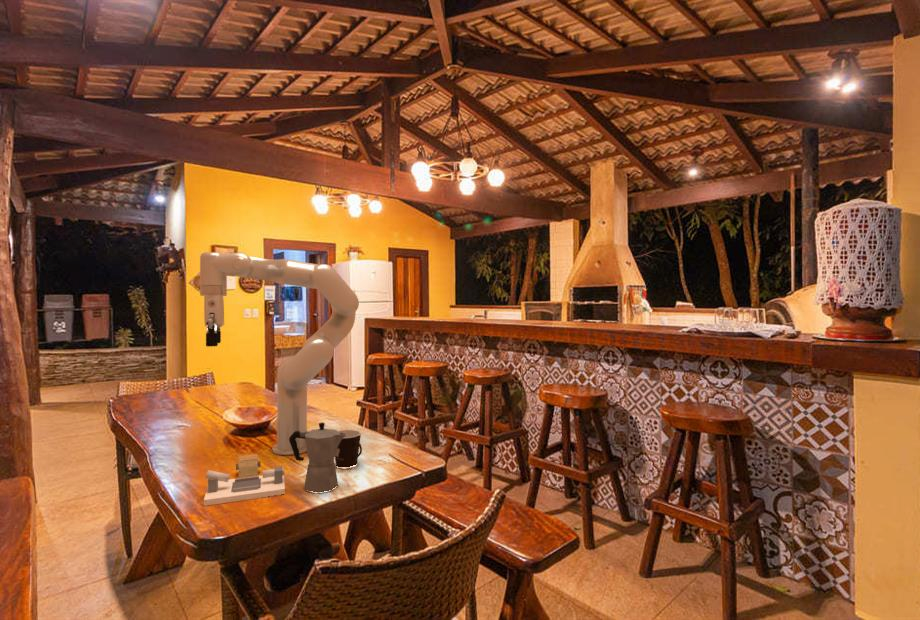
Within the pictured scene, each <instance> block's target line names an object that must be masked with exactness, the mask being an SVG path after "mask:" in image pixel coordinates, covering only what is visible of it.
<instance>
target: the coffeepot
mask: <svg viewBox="0 0 920 620" xmlns="http://www.w3.org/2000/svg"><path fill="white" fill-rule="evenodd" d="M325 424H326V423H325V422H319V423H318V426H319V428H318V429H312V430H309V431H308V430H307V431H295V432H294V433H293V434H292V435H291V436H290V437H289V442H290V444H291V447H292V450H293V453H294V458H295V460H296V461H298V462H303V461H304V460H305V457H304V456H303V457H302V456H301V455H300V454H299V450H298V448H297V442H296V440H295V439H296V438H302V439H305V440H306V447H307V451H306V454H307V458H308V464H307V469H306V475H305V480H304V486H305V487H304V486H303V487H304V490H305V489H306V490H308V491H313V492H324V491H329V490H332V489H333V488H335V487H336V486H337V487H338V486H339V481H338V475H337V469H336V468H337V467H336V462H335V456H336V450H337V447H338V445H339V444H340V442H341V440H342V439H343V438H344V437H345V436H346V434H345V433H342V432H338V431H339V430H337V429H331V428H325ZM337 487H336V488H337ZM306 490H305V491H306ZM332 491H333V490H332Z"/></svg>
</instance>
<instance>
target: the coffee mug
mask: <svg viewBox="0 0 920 620" xmlns="http://www.w3.org/2000/svg"><path fill="white" fill-rule="evenodd" d="M337 431H338V432H342V433H345V434H346V436H345V437H344V438H343V439H342V440H341V442H340V444H339V445H338V447H337V450H336V456H335V457H334V463H335V467H336V466H338V467H350V466H353V465H356V464H357V465H358V461H359V457H360V456H361V455H362V452H363V447H362V444H361V437H362V436H361V435H362V432H361V431H359V430H355V429H343V430H337Z"/></svg>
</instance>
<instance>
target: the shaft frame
mask: <svg viewBox="0 0 920 620" xmlns="http://www.w3.org/2000/svg"><path fill="white" fill-rule="evenodd" d="M230 477H231V473H225V472H219V471H214V470H210V469H208V470H207V472H206V475H205V479H207V489H206V492H205V495H204V498H203V506H204V507H207V506H212V505H220V504H227V503H235V502H241V501H248V500H253V499H254V500H255V499H262V497H263V498H269V497H268V496H270V497H275V496H274V495H277V496H282V495H281V494H285V495H286V485H285V484H286V483H285V467H283V465H280V466H279V465H278V466H274V468H270V469H263V470H262V475H256V476H247V477H237V478H230Z"/></svg>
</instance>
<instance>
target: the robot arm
mask: <svg viewBox="0 0 920 620" xmlns="http://www.w3.org/2000/svg"><path fill="white" fill-rule="evenodd" d="M199 259H200V260H199V277H200V278H199V286H200V287H199V296H201V297H202V296H204V298H203V311H204V313H203V315H204V317H203V318H204V326H205V327H206V332H205V346H206V347H207V348H208V347H218V345H219V344H221V341H222V339H221V337H222V335H221V334H222V332H221V327H223V326H224V325H225V307H224V306H225V302H224V301H225V300H224V297H227V294H228V293H227V291H228V286H227V285H228V284H227V283H228V279H227V278H228V276H229V275H230V276H235V277H239V278H246V279H252V280H259V281H265V282H266V281H267V282H272V283H276V284H279V285H287V286H294V287H302V288H306V289H308V288H309V289H313V290H314V289H315V290H318V291H319V292H320V293H321V294H322V295H323V297H324V298H325V300H326V301H328V303H329V304H330V308H331V312H332V313H331V315H330V317H329V319H328V320H327V321H326V322H325V323H324V324H323V325H322V326H321V327H320V328H319V329H318V330H316V332H314V333H313V334H312V335H311V336H309V337H308V338H307V339H306V340H305V341H304V343H303V345H302V348H301V349H300V350H299V351H298V352H297V353H296V354H295V355H294V356H290V357H286V358H284V359H283V360H282V361H281V362H280V363H279V365H278V368H277V371H276V380H277V381H276V383H277V384H276V385H277V388H276V389H277V404H276V405H277V413H276V414H277V415H276V418H277V419H276V420H277V423H276V424H277V427H276V428H277V429H276V433H277V434H276V435H277V437H276V444H274V445H273V446H272V449H271V451H272V453H274V454H275V455H279V456H293V455H294V453H293V450H292V447H291V444H290V442H289V437H290V436H291V435H292V434H293V433H294V432H295V431H308V430H307V427H308V425H307V424H308V417H307V416H308V413H307V412H308V411H307V410H308V384H309V383H310V382H311V381H312V380H313V379H314V378H315V377H316V376H317V375H318V374H319V373H320V372H321V371H322V370H323V369H324V368H325V367H326V366H327V365H328V364H329V363H330V362H331V360H332V358H333V356H334V350H335V349H336V347H338V346H339V345H340V343H342V341H344V340H345V338H346V337H347V336H348V335H349V334H350V333H351V331H352V330H353V328H354V324H355V320H356V312H357V310H358V309H359V305H360V301H359V297H358V296H357V294H356V293H355V292H354V290H353V289H352V288H351V287H350V286H349V285H348V284H347V282H346V281H345V280H344V278H343V277H342V276H341V275H340V273H338V271H337V270H336V269H335V268H334V267H333V266H332V265H329V264H326V263H322V264H317V263H311V262H305V261H300V260H293V259H286V258H280V259H272V258H271V259H270V258H261V257H255V256H249V255H247V254H246V253H244V252H226V253H222V252H214V251H213V252H212V251H211V252H210V251H207V252H206V251H205V252H202V253H201V254H200V256H199ZM295 440H296V442H297V448H298V450H299V455H301V454H304V453H307V447H306V440H305V439H302V438H296V439H295Z"/></svg>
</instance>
